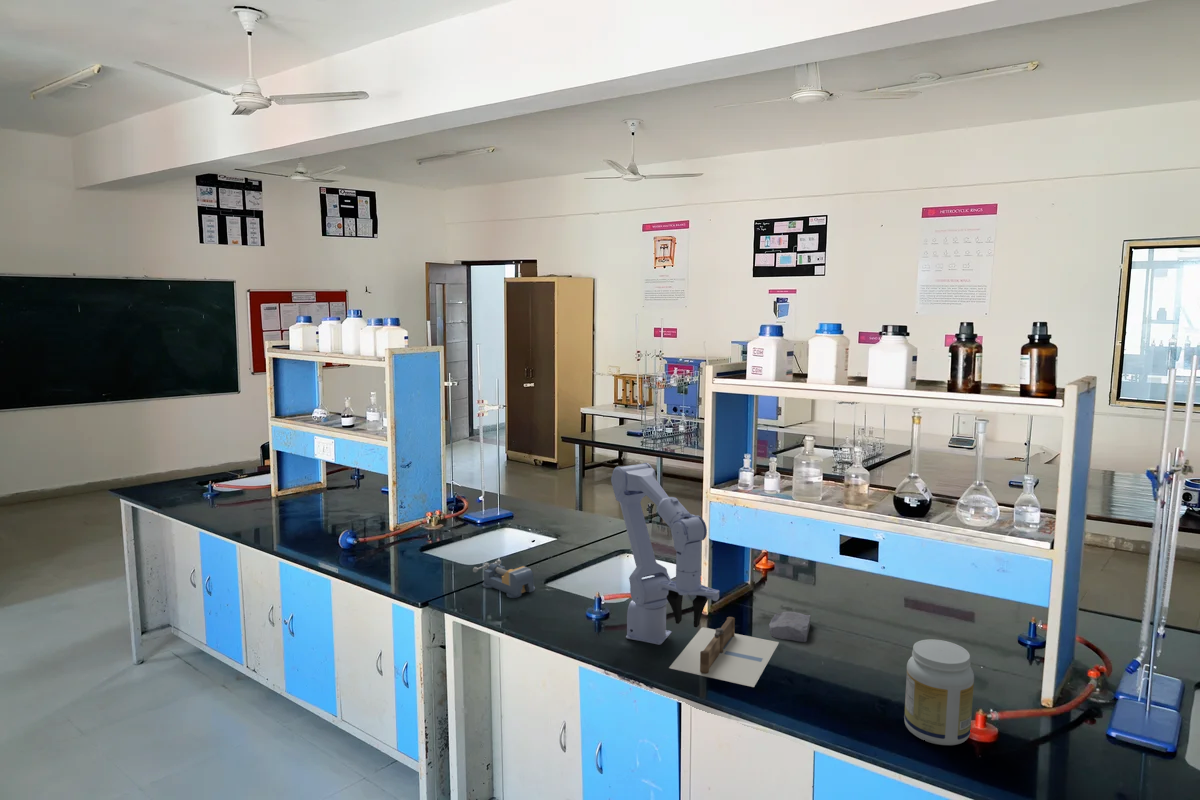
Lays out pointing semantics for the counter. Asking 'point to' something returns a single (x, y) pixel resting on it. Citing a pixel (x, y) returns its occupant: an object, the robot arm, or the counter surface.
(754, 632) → the counter surface
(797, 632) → the stone block
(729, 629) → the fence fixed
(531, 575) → the vise
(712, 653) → the swing rail
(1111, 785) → the counter surface
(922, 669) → the supplement tub
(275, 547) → the counter surface
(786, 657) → the counter surface
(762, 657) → the board
